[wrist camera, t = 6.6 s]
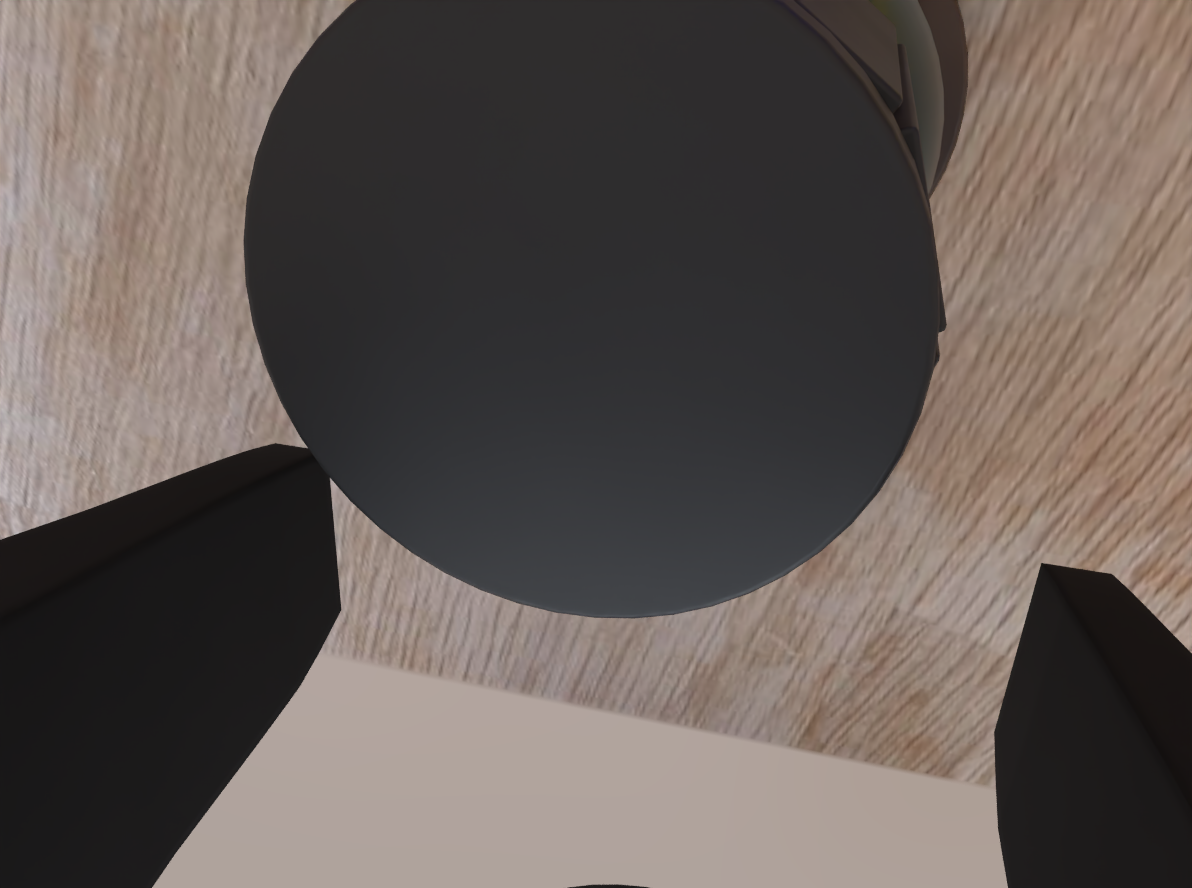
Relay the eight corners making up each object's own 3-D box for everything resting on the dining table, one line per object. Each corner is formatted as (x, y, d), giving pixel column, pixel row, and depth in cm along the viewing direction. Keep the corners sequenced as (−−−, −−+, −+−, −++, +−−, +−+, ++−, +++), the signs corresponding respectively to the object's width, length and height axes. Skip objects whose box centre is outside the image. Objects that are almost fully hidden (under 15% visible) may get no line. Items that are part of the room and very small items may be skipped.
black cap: (883, 385, 14) (882, 677, 8) (486, 331, 15) (264, 560, 9) (966, -64, 11) (1038, -47, 6) (485, -89, 12) (187, -95, 7)
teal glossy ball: (921, 304, 19) (939, 489, 13) (550, 262, 20) (409, 411, 14) (1006, -136, 16) (1082, -165, 10) (558, -152, 17) (379, -187, 11)
